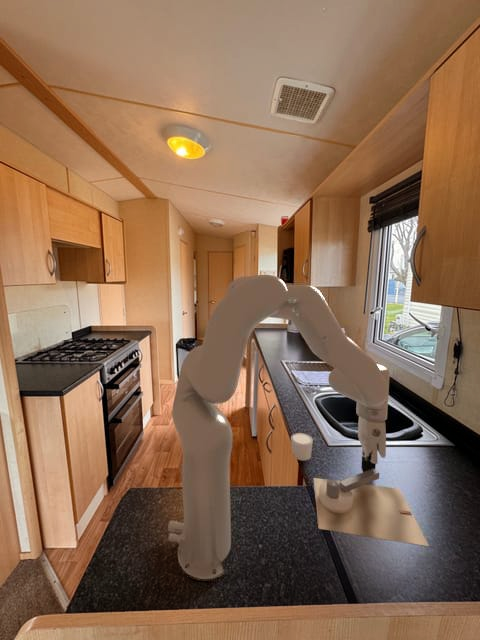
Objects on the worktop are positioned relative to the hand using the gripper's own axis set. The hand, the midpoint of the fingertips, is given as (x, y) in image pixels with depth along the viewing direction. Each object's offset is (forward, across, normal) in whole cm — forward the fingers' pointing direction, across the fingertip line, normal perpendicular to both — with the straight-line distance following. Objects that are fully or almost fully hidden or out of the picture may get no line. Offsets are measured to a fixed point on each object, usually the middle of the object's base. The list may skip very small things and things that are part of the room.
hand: (368, 471), depth 75 cm
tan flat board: (+3, -11, +4) cm, 12 cm away
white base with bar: (+1, -8, +6) cm, 10 cm away
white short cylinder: (+3, +7, +18) cm, 20 cm away
